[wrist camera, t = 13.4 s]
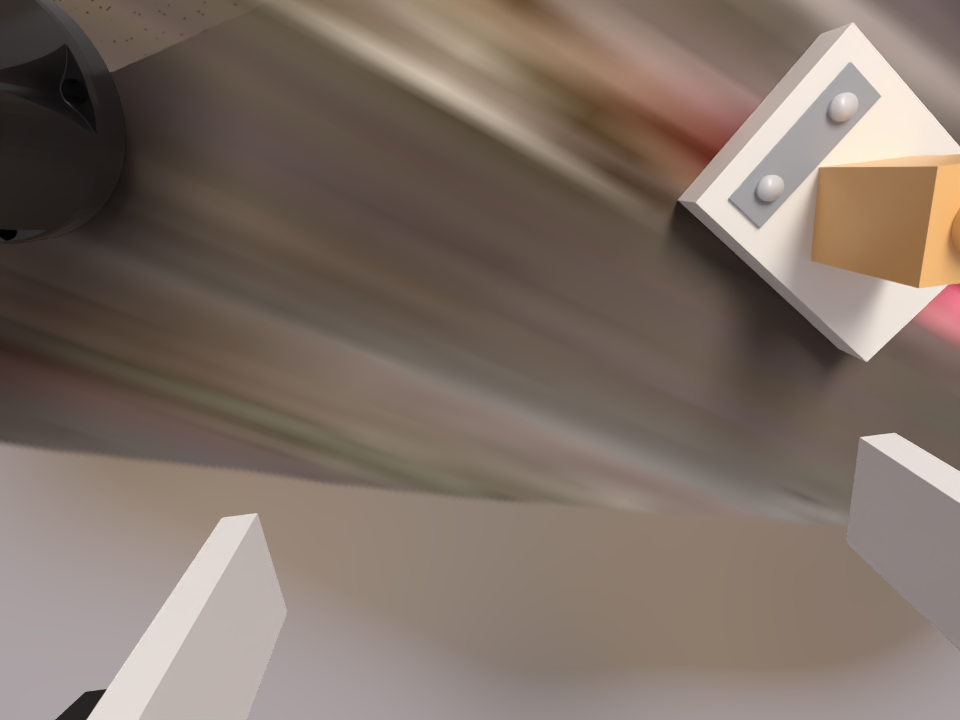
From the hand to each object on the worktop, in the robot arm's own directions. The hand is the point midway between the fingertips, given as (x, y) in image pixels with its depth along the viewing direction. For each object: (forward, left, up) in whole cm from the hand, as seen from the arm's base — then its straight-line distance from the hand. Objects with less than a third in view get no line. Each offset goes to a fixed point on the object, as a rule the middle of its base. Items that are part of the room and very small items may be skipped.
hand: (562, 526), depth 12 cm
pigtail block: (+16, +19, -29) cm, 38 cm away
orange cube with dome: (+16, +19, -26) cm, 36 cm away
